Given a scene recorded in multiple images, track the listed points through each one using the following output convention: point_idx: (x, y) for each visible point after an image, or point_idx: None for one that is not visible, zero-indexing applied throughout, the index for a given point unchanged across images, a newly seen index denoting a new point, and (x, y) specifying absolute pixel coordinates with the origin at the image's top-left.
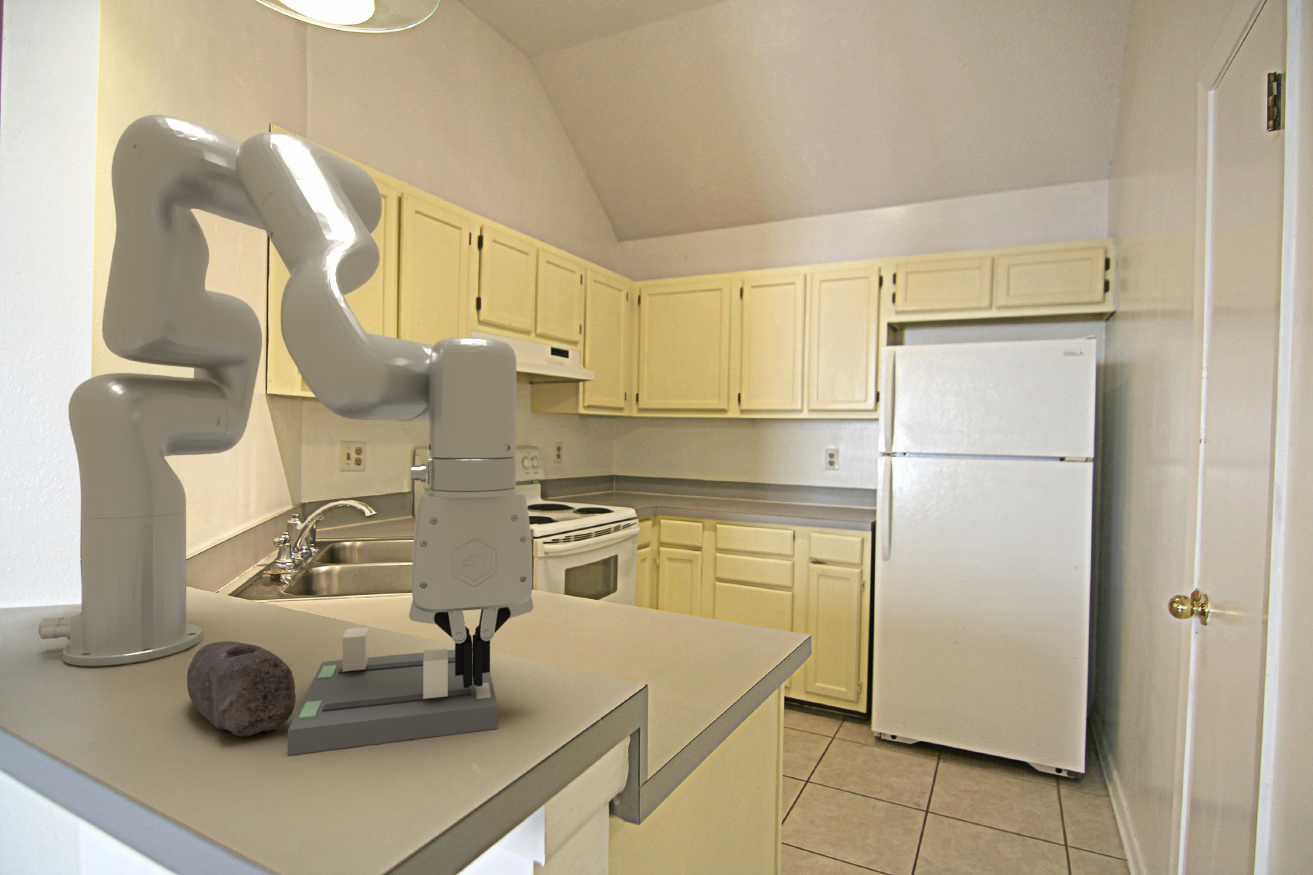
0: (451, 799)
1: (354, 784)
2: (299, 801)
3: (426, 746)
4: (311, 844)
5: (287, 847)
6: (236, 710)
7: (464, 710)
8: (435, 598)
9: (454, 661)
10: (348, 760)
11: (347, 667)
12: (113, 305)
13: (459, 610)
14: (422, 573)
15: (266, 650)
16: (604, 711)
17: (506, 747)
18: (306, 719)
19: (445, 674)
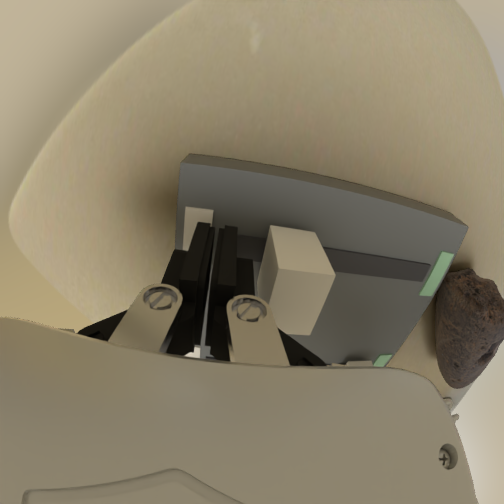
0: None
1: (414, 90)
2: (458, 95)
3: (313, 142)
4: (447, 11)
5: (462, 24)
6: (488, 280)
7: (246, 170)
8: (395, 410)
9: None
10: (410, 160)
11: (368, 364)
12: None
13: (265, 365)
14: (463, 498)
15: (480, 352)
16: (37, 162)
17: (190, 80)
18: (448, 248)
19: (279, 248)
